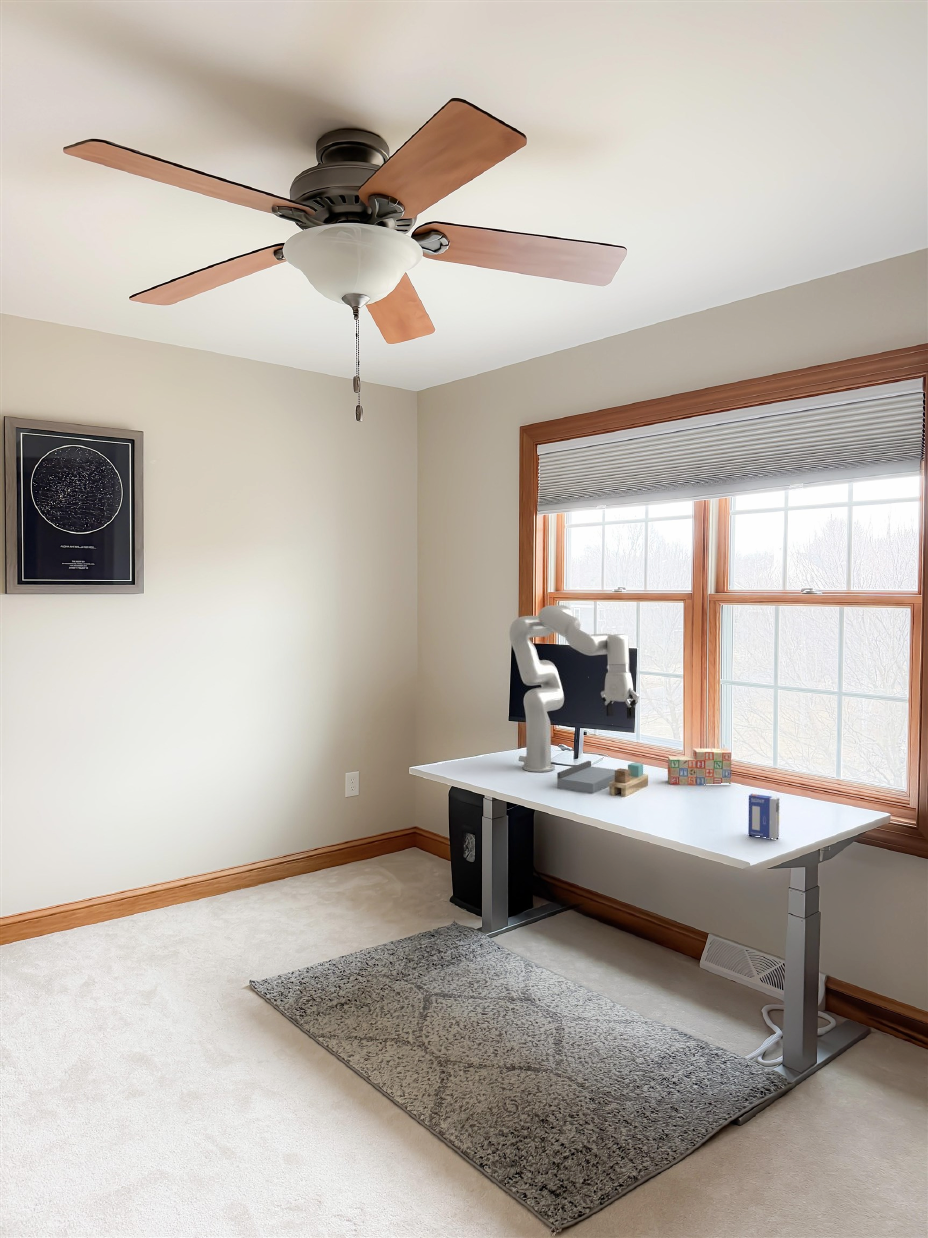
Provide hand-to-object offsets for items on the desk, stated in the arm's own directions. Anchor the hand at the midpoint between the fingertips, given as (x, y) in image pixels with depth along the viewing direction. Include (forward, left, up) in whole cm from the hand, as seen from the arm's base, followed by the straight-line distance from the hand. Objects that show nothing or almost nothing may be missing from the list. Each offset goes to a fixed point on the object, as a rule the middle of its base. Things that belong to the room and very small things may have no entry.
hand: (620, 717), depth 296 cm
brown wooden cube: (+5, -9, -21) cm, 23 cm away
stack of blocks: (+22, +20, -25) cm, 39 cm away
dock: (-10, -3, -25) cm, 27 cm away
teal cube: (+5, +2, -21) cm, 21 cm away
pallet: (+5, -3, -25) cm, 26 cm away
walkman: (+59, -32, -25) cm, 72 cm away
